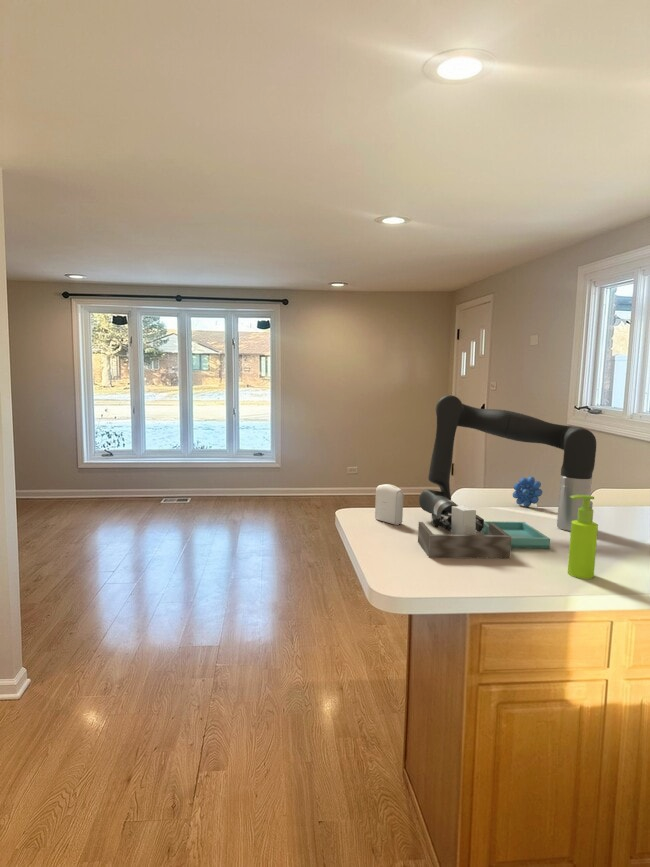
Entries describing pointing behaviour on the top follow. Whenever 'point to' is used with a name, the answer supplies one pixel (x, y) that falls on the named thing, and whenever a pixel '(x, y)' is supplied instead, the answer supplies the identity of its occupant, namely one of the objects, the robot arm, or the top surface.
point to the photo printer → (389, 504)
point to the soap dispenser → (583, 541)
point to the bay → (465, 544)
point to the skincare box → (463, 520)
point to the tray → (521, 535)
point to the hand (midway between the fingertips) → (464, 528)
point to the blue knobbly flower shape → (527, 491)
